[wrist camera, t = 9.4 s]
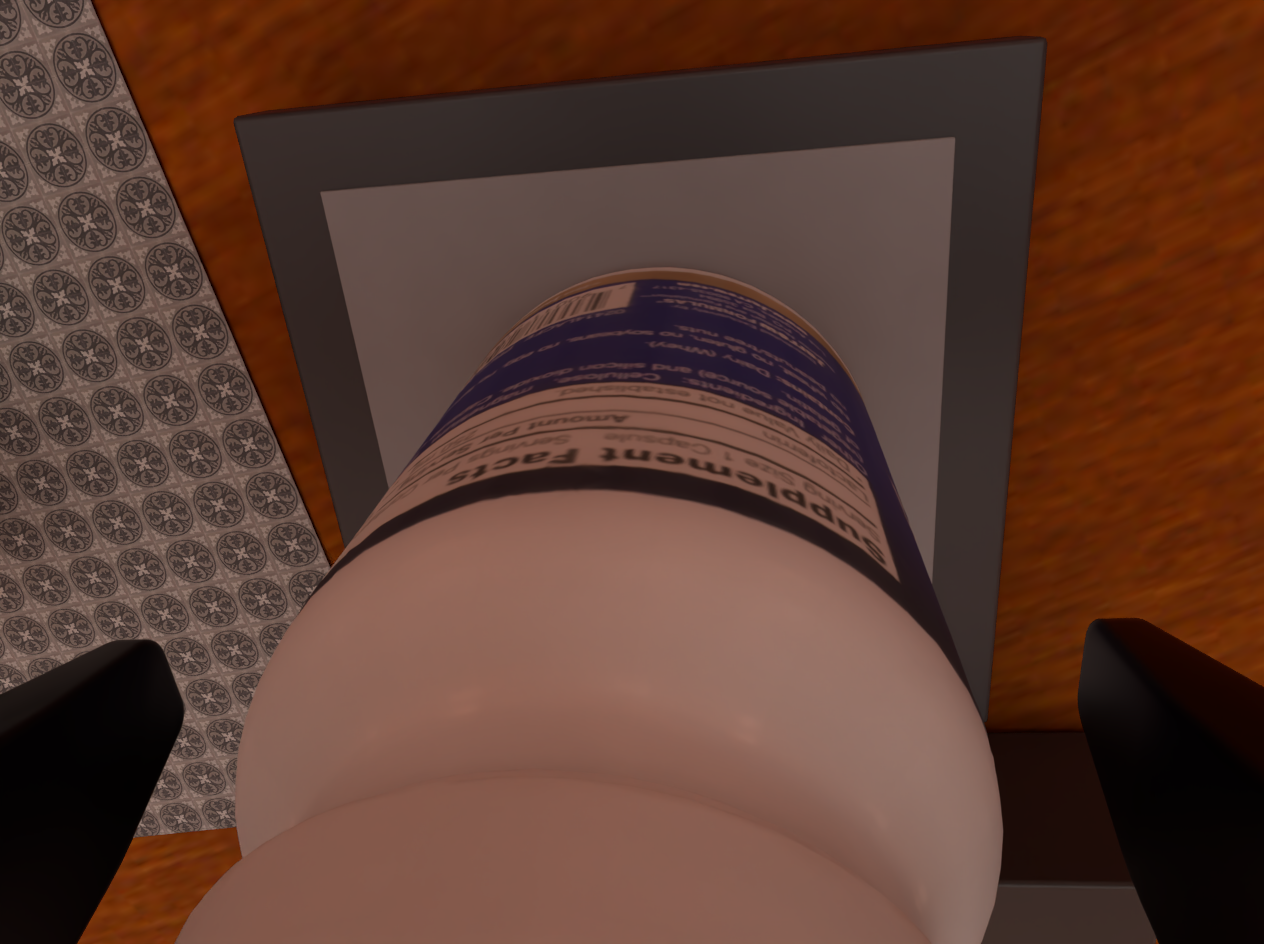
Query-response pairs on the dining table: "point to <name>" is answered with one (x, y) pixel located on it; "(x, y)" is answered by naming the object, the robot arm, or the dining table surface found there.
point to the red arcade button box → (1059, 849)
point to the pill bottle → (623, 665)
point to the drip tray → (681, 252)
